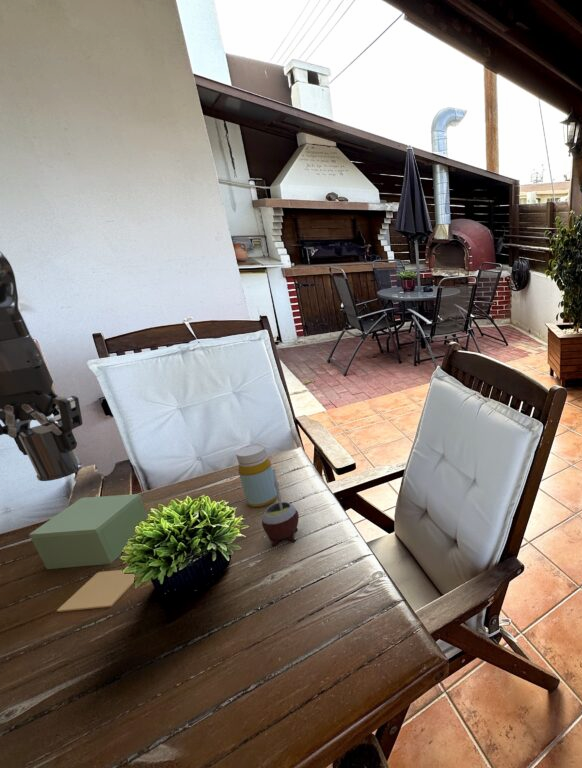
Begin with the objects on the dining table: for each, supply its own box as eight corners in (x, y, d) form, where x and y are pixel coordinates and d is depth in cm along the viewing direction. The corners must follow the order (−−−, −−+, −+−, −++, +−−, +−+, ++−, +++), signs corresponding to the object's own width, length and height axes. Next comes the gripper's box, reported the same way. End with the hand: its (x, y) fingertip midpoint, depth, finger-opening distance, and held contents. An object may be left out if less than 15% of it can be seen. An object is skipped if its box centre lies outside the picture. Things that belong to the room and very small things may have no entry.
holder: (27, 482, 72) (5, 438, 68) (57, 465, 77) (38, 423, 74) (64, 479, 72) (43, 435, 69) (91, 463, 78) (73, 421, 75)
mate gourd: (282, 553, 87) (267, 495, 81) (257, 542, 90) (242, 486, 84) (310, 531, 93) (298, 476, 88) (287, 522, 96) (274, 468, 91)
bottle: (241, 506, 102) (226, 454, 96) (263, 490, 108) (250, 441, 103) (263, 510, 100) (250, 458, 95) (284, 494, 106) (273, 444, 101)
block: (46, 569, 82) (28, 534, 79) (96, 529, 93) (81, 497, 90) (111, 563, 84) (95, 529, 81) (152, 525, 95) (139, 493, 92)
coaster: (57, 612, 73) (56, 610, 73) (98, 573, 81) (97, 572, 81) (111, 606, 74) (110, 605, 74) (146, 569, 82) (146, 567, 82)
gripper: (-67, 373, 63) (-17, 465, 69) (37, 369, 65) (77, 459, 71) (-15, 359, 70) (27, 444, 76) (77, 356, 72) (111, 439, 78)
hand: (51, 451), depth 73 cm, fingers closed on holder, 5 cm apart
